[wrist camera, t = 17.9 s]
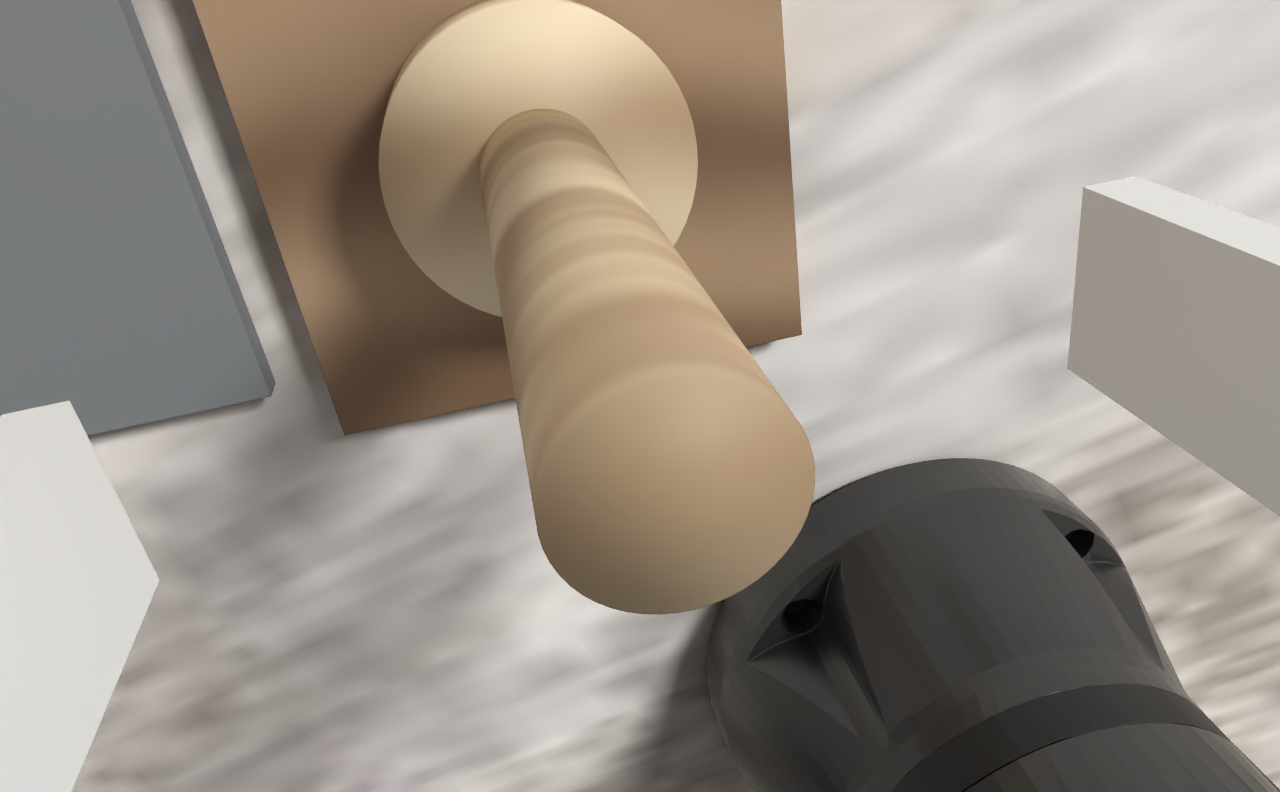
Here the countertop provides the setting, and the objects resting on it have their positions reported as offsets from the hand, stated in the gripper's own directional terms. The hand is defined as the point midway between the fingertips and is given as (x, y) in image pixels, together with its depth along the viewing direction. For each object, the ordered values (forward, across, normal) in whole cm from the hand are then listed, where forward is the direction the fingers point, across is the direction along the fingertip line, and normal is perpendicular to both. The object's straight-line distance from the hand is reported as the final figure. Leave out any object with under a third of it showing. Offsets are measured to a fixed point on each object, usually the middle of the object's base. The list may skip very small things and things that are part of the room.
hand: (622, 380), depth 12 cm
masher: (+12, 0, 0) cm, 12 cm away
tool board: (+13, 0, 0) cm, 13 cm away
